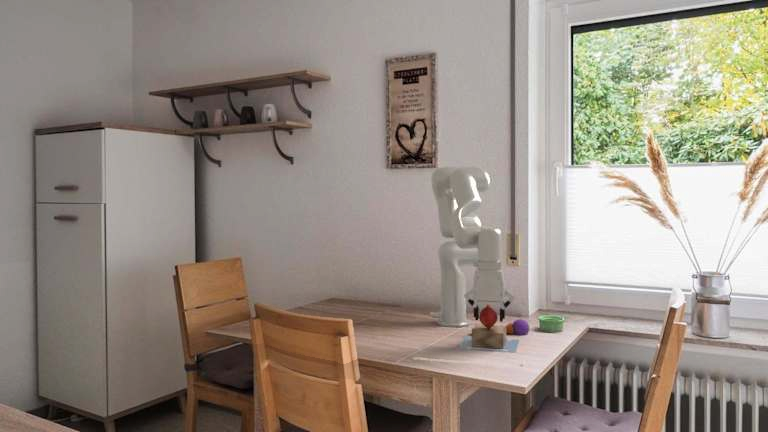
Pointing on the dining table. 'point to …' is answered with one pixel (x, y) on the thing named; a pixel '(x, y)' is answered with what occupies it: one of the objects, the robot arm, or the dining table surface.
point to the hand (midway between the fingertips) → (489, 319)
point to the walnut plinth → (489, 337)
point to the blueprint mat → (509, 346)
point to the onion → (488, 317)
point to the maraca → (517, 327)
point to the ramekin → (551, 323)
